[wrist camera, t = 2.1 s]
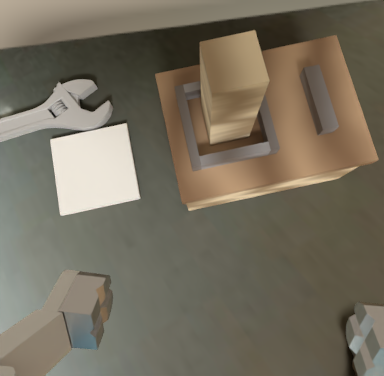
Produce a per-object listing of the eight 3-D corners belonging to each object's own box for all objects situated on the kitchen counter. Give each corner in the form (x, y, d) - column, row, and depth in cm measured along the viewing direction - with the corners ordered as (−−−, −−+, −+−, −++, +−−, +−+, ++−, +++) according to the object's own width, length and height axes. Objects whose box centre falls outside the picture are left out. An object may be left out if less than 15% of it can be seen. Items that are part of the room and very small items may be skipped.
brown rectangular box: (310, 79, 40) (342, 24, 31) (341, 180, 38) (387, 154, 28) (165, 110, 40) (152, 65, 31) (186, 214, 38) (180, 199, 28)
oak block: (239, 101, 31) (255, 30, 22) (248, 137, 31) (269, 80, 21) (201, 109, 31) (199, 41, 21) (209, 145, 31) (211, 93, 21)
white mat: (127, 125, 40) (126, 123, 39) (140, 198, 38) (139, 197, 38) (52, 141, 40) (50, 139, 39) (62, 215, 38) (60, 215, 38)
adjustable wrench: (-90, 173, 40) (-104, 170, 39) (-93, 124, 42) (-106, 118, 40) (115, 126, 40) (110, 121, 39) (106, 78, 42) (101, 71, 40)
